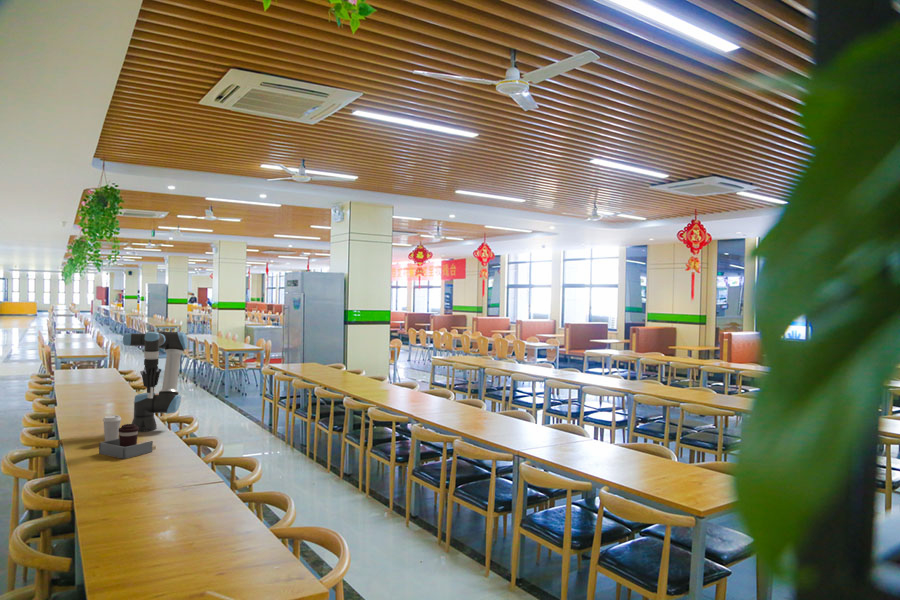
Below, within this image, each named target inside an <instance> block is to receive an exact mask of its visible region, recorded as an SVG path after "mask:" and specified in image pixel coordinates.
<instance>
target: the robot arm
mask: <svg viewBox="0 0 900 600" xmlns="http://www.w3.org/2000/svg"><path fill="white" fill-rule="evenodd" d="M188 343H189V342H188V335H187V334H186V333H185V332H183V331H148V332H147V331H146V332H145V333H131V332H129V333H127V332H126V333H124V334H123V337H122V344H123V345H124V346H126V347H144V349H143V350H144V353H143V354H144V355H143V356H144V357H143V358H144V359H143V365H144V368H143V370H141V371H140V372H139V373H140V375H141V378H142V384H143V387H145V388H146V392H143V393H138V394H136V395H135V396H134V399H133V400H134V401H133V404H134V405H133V419H132V421H131V424H135V425H136V426H137V427H139V431H138V432H139V433H141V432H151V431H154V430H157V429H158V428H157V422H156V419H155V414H175V413H176V412H177V411H178V410H179V408H180V406H181V400H182V396H181V395H180V394H179V391H178V390H177V388H178V381H179V373H180V364H181V357H182V355H183V353H184V352H185V350H187V349H188V346H189V345H188ZM161 349H162V350H164V352H165V353H166V358H165V363H164V364H165V365H164V372H163V379H162V380H163V381H162V386H161V389H160V390H159V391H158V394H156V392H155V388H156V386H158V383H159V379H160V374H161V373H162V369H161V368H159V366H158V365H159V356H160V355H159V353H160V350H161Z"/></svg>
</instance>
